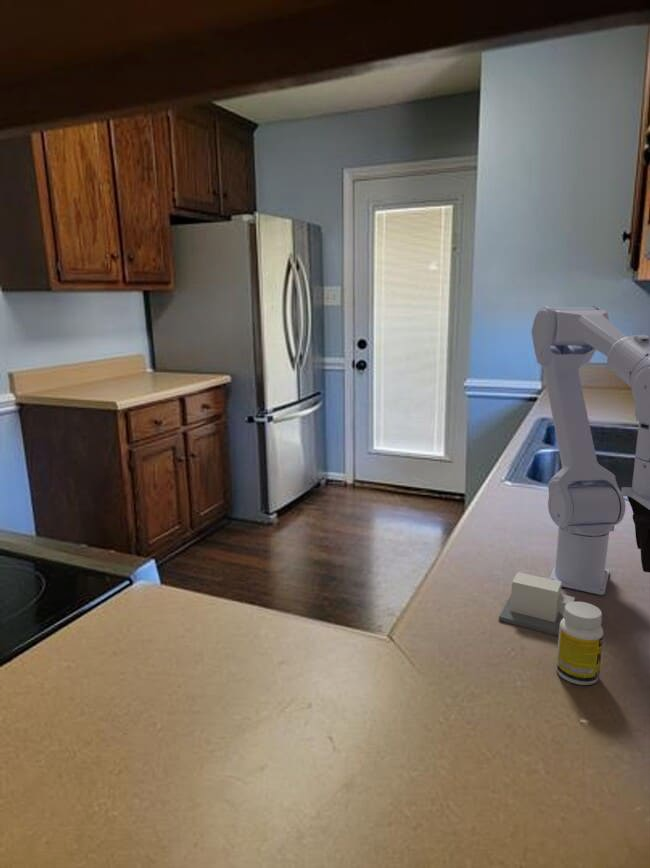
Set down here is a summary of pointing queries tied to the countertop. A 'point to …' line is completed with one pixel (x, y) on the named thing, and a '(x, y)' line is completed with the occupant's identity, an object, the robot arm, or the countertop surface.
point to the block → (537, 597)
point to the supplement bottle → (580, 643)
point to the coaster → (531, 620)
